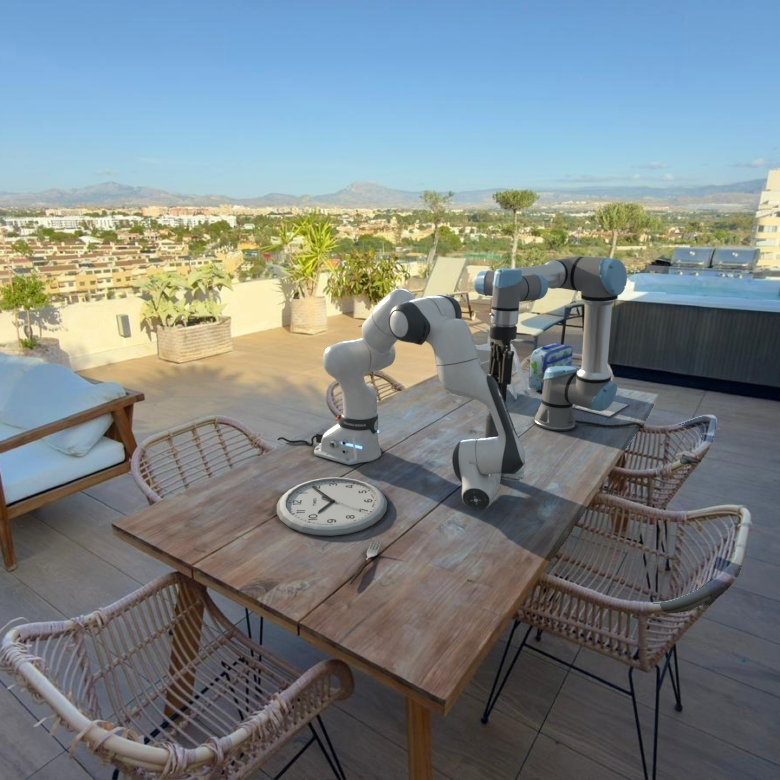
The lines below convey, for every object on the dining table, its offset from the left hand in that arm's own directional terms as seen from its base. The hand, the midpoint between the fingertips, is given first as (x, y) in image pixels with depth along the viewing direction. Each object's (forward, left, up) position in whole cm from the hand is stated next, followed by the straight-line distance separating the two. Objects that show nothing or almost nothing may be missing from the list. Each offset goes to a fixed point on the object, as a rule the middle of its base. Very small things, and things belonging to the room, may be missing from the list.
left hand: (493, 455), depth 161 cm
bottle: (0, -1, -6) cm, 6 cm away
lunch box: (+12, +103, -6) cm, 104 cm away
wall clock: (-38, -35, -6) cm, 52 cm away
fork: (-20, -57, -6) cm, 60 cm away
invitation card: (+35, +82, -6) cm, 89 cm away
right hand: (0, -1, +17) cm, 17 cm away
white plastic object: (-18, +83, -6) cm, 85 cm away
